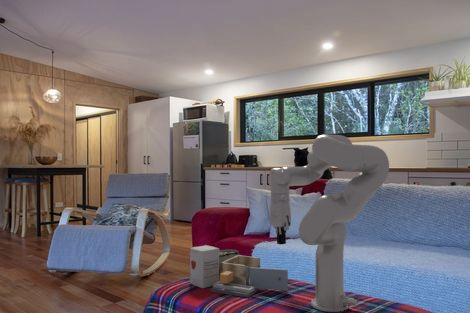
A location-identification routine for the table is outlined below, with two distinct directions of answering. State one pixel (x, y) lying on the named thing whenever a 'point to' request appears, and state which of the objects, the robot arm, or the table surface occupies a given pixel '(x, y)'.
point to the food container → (226, 255)
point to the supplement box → (204, 266)
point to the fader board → (234, 289)
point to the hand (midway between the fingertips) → (281, 243)
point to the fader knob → (226, 277)
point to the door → (267, 278)
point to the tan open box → (239, 267)
